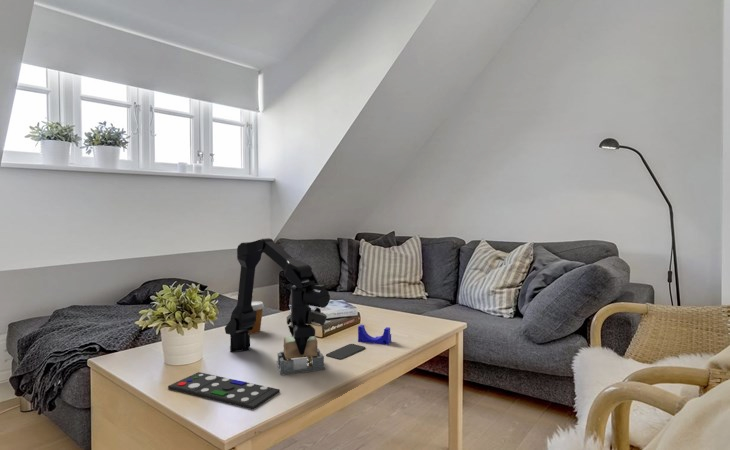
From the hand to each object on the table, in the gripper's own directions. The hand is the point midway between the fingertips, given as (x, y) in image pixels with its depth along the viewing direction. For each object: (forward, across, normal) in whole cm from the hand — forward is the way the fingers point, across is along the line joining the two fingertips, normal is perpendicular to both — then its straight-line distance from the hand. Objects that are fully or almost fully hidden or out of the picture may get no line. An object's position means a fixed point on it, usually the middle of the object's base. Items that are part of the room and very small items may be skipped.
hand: (300, 351), depth 136 cm
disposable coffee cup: (+5, +46, +12) cm, 48 cm away
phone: (+6, +9, -18) cm, 21 cm away
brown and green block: (+1, 0, 0) cm, 1 cm away
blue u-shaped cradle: (+6, +17, -32) cm, 37 cm away
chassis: (+5, 0, 0) cm, 5 cm away
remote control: (+6, -11, +24) cm, 27 cm away
